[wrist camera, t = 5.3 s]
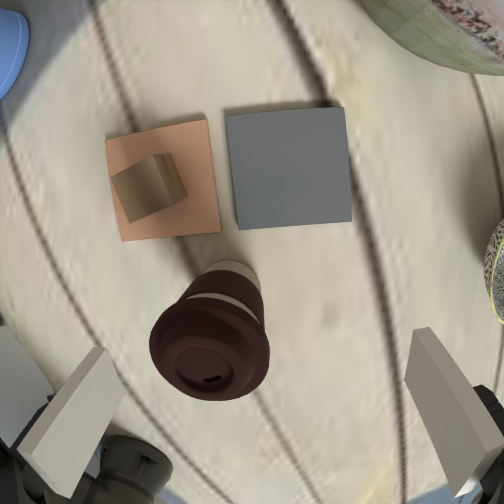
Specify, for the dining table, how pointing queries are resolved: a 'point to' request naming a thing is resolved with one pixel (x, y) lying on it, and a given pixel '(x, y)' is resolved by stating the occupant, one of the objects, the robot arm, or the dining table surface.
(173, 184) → the walnut block
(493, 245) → the bowl
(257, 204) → the slate tile
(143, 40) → the dining table surface
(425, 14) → the vase
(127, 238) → the terracotta tile
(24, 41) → the water jug
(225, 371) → the coffee cup
